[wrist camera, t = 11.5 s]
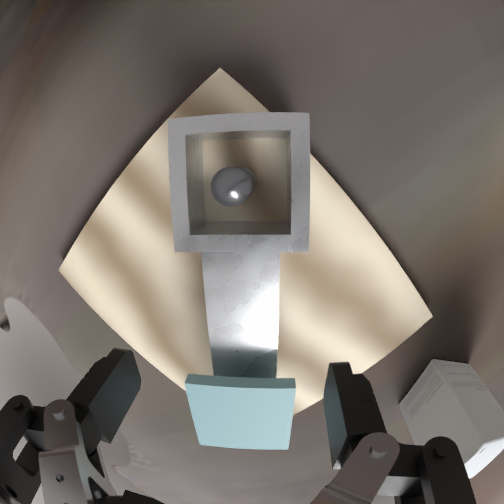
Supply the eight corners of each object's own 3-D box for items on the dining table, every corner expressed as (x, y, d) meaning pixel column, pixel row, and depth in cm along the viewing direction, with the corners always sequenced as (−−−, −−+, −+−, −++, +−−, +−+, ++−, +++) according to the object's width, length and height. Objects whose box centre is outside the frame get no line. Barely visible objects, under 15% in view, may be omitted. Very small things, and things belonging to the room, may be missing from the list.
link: (188, 128, 18) (167, 119, 14) (301, 124, 17) (309, 112, 13) (206, 366, 23) (196, 397, 19) (293, 368, 23) (296, 401, 19)
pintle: (245, 161, 19) (230, 158, 12) (263, 179, 20) (258, 187, 12) (227, 179, 20) (202, 186, 13) (245, 197, 20) (230, 214, 13)
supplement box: (396, 405, 25) (428, 492, 13) (432, 356, 23) (486, 442, 11) (436, 407, 26) (471, 479, 14) (470, 362, 23) (520, 432, 11)
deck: (222, 72, 17) (220, 67, 16) (427, 310, 22) (432, 316, 20) (65, 266, 23) (58, 270, 22) (253, 427, 27) (252, 435, 26)
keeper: (207, 324, 23) (184, 383, 16) (290, 326, 23) (295, 388, 16) (215, 395, 26) (202, 452, 19) (285, 398, 25) (286, 457, 18)
